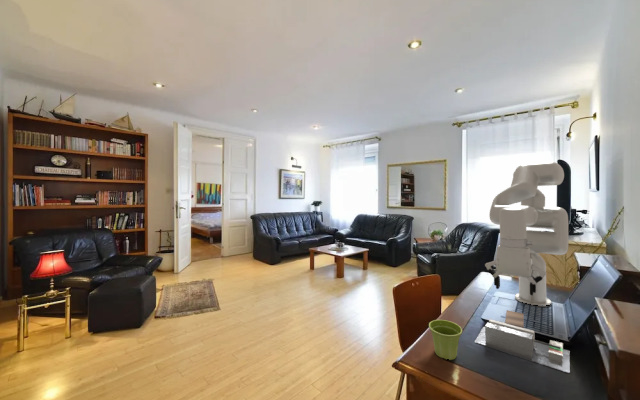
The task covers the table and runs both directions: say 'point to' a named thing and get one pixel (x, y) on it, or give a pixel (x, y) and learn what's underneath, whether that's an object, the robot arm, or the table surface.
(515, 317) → the walnut bar
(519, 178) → the robot arm
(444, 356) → the plant pot
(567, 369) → the frame
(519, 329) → the gauge pad
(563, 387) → the table surface
